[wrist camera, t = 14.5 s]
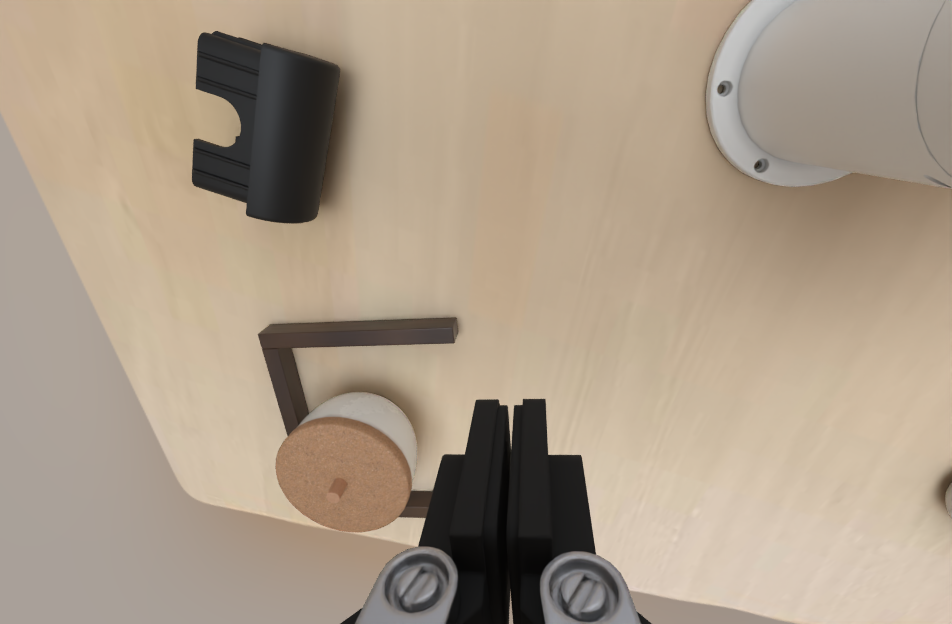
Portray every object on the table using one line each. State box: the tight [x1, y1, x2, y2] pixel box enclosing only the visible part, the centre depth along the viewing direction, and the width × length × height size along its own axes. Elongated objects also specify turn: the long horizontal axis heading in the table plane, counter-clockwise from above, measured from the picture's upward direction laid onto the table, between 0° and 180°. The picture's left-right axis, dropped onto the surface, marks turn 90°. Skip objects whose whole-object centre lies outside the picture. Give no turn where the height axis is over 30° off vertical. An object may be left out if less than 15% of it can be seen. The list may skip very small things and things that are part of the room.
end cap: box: [192, 31, 340, 223], centre depth 30 cm, size 10×7×7 cm
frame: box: [258, 318, 458, 518], centre depth 42 cm, size 16×20×2 cm
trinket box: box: [276, 392, 417, 532], centre depth 38 cm, size 11×11×9 cm
